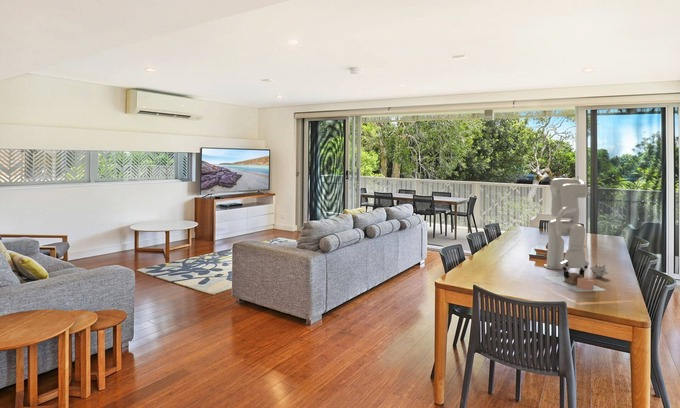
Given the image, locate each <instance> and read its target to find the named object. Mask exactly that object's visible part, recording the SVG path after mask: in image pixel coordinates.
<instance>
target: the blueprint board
mask: <svg viewBox="0 0 680 408" xmlns="http://www.w3.org/2000/svg"><path fill="white" fill-rule="evenodd" d="M543 278H544V279H547V280H550V281H551V282H554V283H556V284H558V285H561V286H563V287H566V288H568V289H570V290H572V291H574V292H599V291H600V292H601V291H606V289H605V288H602V287H599V286H597V285H595V284H594V289H592V290H583V289H581V288H579V287H577V285H572V284H569V283H567V282H564V280H565V277H564V275H563V276H562V275H560V276H543Z"/></svg>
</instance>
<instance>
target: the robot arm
mask: <svg viewBox="0 0 680 408" xmlns="http://www.w3.org/2000/svg"><path fill="white" fill-rule="evenodd" d="M549 183H550V184H549V187H550V191H551V192H550V193H551V197H552V200H551V209H550V210H551V211H550V212H551V213H550V214H551V217H552V218H555V219H551V220H549V221H548V222H547V251H546V253H547V254H546V263H544V264H543V267H544V268H546V269H550V270H554V271H555V270H556V271H557V270H562V271H563V276H564V277H565V278H569V273H570V269H579V271H578V272H579V273H578V274H580V275H583V278H585V272H586V270H587V269H588V267H589V265H590V262H588V261H586V254H585V248H586V246H585V235H586V228H585V226H584V225H582V224H581V223H579V219H580V208H579V201H578V199H585V198H586V197H587V196H588V195H589V190H588V186H587V185H586V183H585V182H584V180H582V179H581V178H573V177H571V178H569V177H567V178H566V177H564V178H563V177H558V178H557V177H556V178H553V179H552V180H550V182H549ZM563 219H566V220H563ZM568 219H569V220H568ZM563 237H568V249H566V251H565V240H564V239H563ZM564 255H565V256H564Z"/></svg>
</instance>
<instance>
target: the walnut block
mask: <svg viewBox="0 0 680 408" xmlns="http://www.w3.org/2000/svg"><path fill="white" fill-rule="evenodd" d="M578 278H583V275H580V274H579V273H577V272H569V278H565V280H564V282H567V283H569V284H572V285H577V280H578Z"/></svg>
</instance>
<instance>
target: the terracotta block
mask: <svg viewBox="0 0 680 408" xmlns="http://www.w3.org/2000/svg"><path fill="white" fill-rule="evenodd" d="M594 285H595V280H594V279H591V278H589V277H584V278H578V280H577V287H579V288H581V289H583V290H592V289H594Z"/></svg>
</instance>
